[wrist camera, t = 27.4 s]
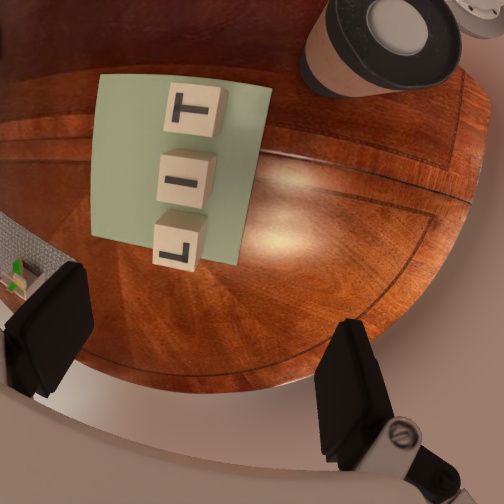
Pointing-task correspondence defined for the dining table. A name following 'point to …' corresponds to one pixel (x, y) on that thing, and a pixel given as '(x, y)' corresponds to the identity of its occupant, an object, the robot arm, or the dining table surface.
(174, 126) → the tile
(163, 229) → the tile
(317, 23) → the travel mug
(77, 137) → the dining table surface
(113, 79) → the board
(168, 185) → the tile
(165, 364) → the dining table surface
